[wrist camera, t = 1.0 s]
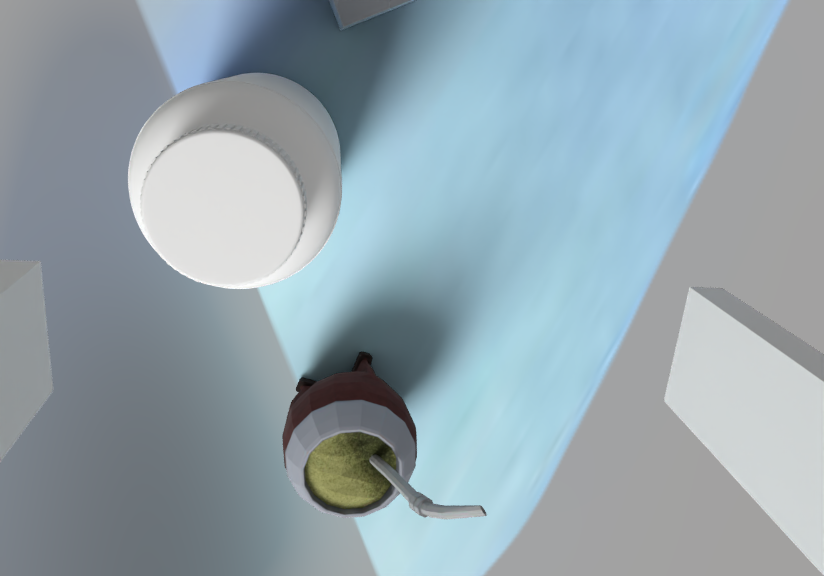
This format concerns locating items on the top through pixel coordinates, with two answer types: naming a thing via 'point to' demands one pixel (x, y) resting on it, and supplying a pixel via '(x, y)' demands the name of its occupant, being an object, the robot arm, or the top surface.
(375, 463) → the mate gourd
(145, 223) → the pill bottle
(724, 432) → the robot arm
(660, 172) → the top surface
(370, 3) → the grey bridge block
